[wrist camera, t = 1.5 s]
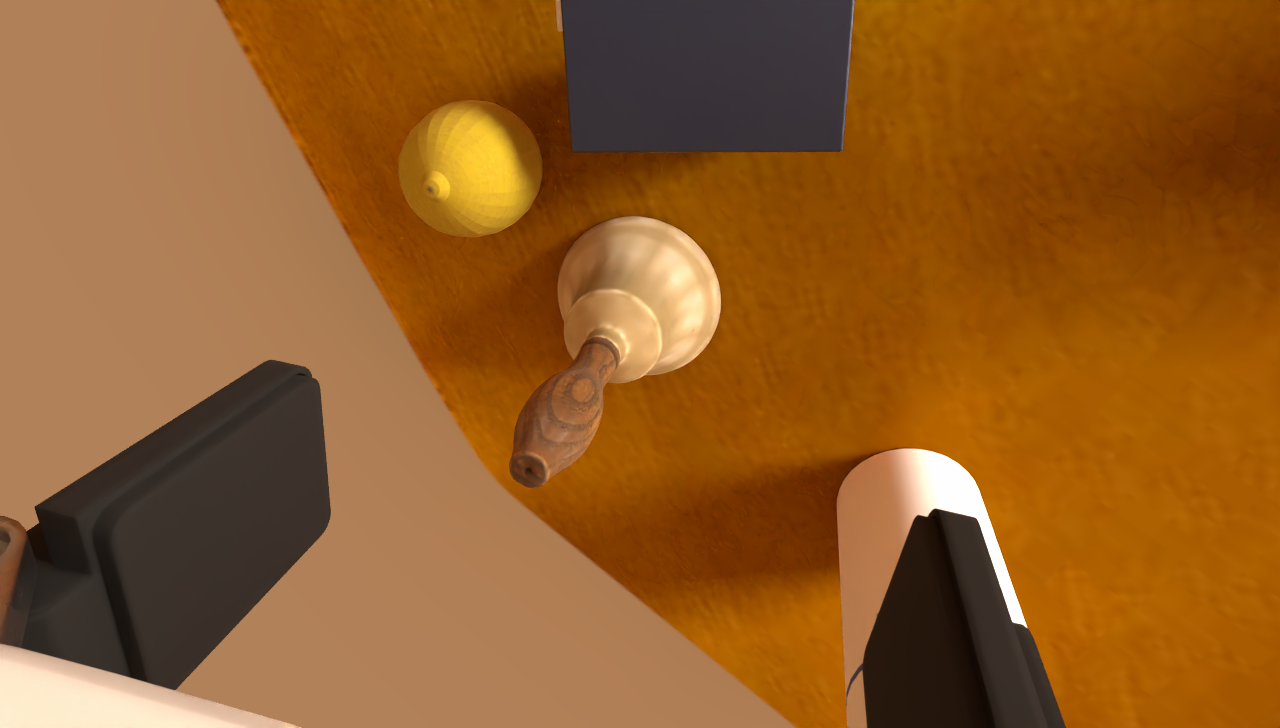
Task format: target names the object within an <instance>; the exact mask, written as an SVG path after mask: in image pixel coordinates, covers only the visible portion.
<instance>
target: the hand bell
mask: <svg viewBox="0 0 1280 728" xmlns="http://www.w3.org/2000/svg"><path fill="white" fill-rule="evenodd" d="M557 293H558V304H559V308H560V312H561V315H562V318H563V320H564V323H565V324H564V338H565V343H566V347H567V349H568V352H569V354H570V356H571V357H572V359H573V360H574V361H573V363H572V365H571V366H570V367H569V368H568V369H567V370H564V371H562V372H560V373H558V374H555V375H554V376H552V377H551V378H549V379H548V380H546V381H545V382H544V383H543V384H541V385H540V386H539V387H538V388H537V390H536V391H535V392H534V393H533V394H532V395H531V397H530V398H529V399H528V401H527V402H526V404H525V405H524V407H523V409H522V410H521V413H520V415H519V417H518V420H517V423H516V427H515V433H514V442H513V453H512V457H511V460H510V463H509V469H510V473H511V476H512V477H513V479H514V480H516V481H517V482H519V483H520V484H522V485H524V486H526V487H529V488H534V487H539V486H542V485H543V484H545V483H546V482H547V481H548V480H549V479H550V478H551V477H552V476H554V475H555V474H557V473H558V472H560V471H562V470H564V469H565V468H567V467H568V466H570V465H571V464H573V463H574V462H575V461H576V460H577V459H578V458H579V457H580V456H581V455H582V454H583V453H584V452H585V451H586V449H587V447H588V446H589V444H590V442H591V441H592V439H593V437H594V435H595V433H596V431H597V429H598V426H599V423H600V420H601V416H602V411H603V388H604V386H605V385H606V383H607V382H610V383H625V382H630V381H633V380H636V379H639V378H641V377H642V376H644V375H656V374H662V373H667V372H670V371H673V370H676V369H678V368H680V367H682V366H684V365H685V364H687V363H689V362H690V361H692V360H693V359H694V358H695V357H696V356H698V355H699V354H700V353H701V352H702V351H703V349H704V348H705V347H706V346H707V344H708V343H709V341H710V340H711V338H712V336H713V334H714V332H715V330H716V327H717V325H718V321H719V316H720V311H721V295H720V287H719V282H718V279H717V276H716V274H715V271H714V268H713V267H712V265H711V263H710V261H709V259H708V257H707V256H706V254H705V253H704V252H703V250H702V249H701V248H700V247H699V246H698V245H697V244H696V243H695V242H694V241H693V240H692V238H690V237H689V236H688V235H686V234H685V233H684V232H682V231H681V230H679V229H677V228H675V227H674V226H672V225H669V224H667V223H664V222H662V221H659V220H656V219H652V218H646V217H639V216H628V217H620V218H615V219H611V220H608V221H605V222H602V223H600V224H598V225H596V226H594V227H592V228H590V229H589V230H588V231H586V232H585V233H584V234H582V235H581V236H580V237H579V238H578V239H577V240H576V241H575V242H574V244H573V245H572V246H571V248H570V249H569V251H568V252H567V254H566V256H565V258H564V260H563V263H562V265H561V269H560V272H559V277H558V286H557Z"/></svg>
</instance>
